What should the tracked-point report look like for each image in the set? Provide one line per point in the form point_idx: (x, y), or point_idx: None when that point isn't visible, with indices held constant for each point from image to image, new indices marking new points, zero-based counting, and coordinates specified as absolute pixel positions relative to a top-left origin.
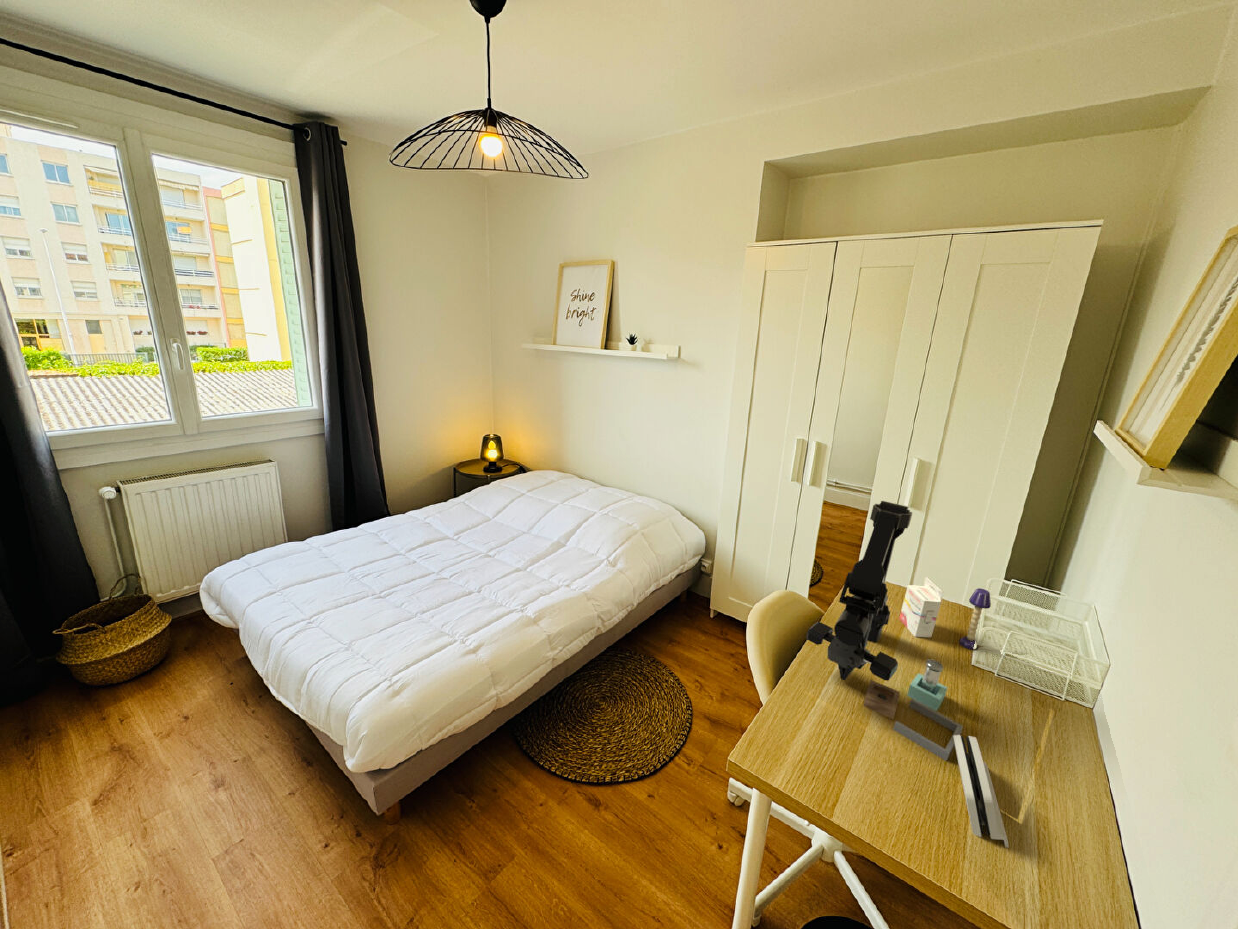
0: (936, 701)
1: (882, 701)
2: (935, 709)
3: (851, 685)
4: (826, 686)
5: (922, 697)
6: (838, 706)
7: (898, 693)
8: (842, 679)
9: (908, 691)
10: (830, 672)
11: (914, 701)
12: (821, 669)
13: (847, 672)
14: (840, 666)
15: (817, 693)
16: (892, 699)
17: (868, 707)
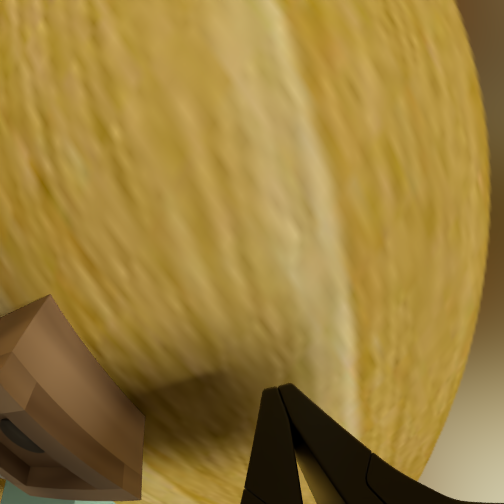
0: (6, 500)
1: None
2: None
3: (230, 397)
4: (329, 251)
5: (37, 498)
6: (136, 135)
7: (19, 487)
8: (279, 387)
9: (74, 500)
10: (363, 370)
11: None
12: (405, 343)
13: (268, 476)
14: (361, 474)
15: (332, 111)
16: (6, 448)
17: (17, 320)
